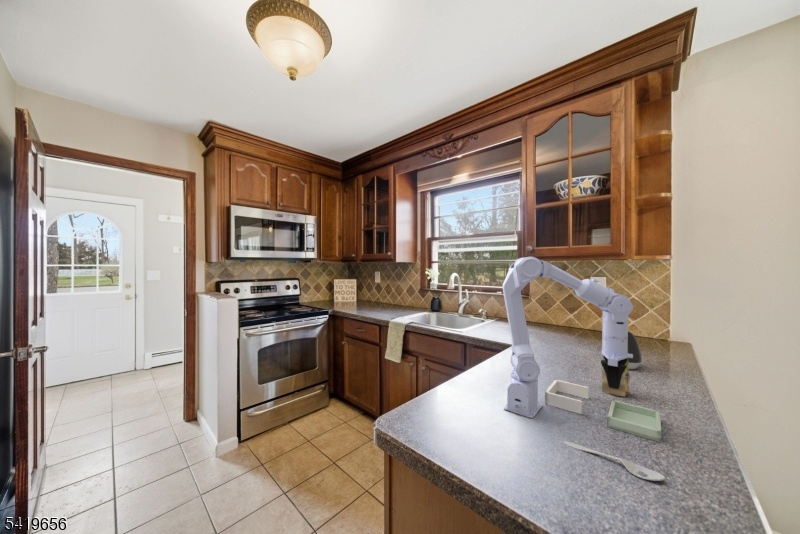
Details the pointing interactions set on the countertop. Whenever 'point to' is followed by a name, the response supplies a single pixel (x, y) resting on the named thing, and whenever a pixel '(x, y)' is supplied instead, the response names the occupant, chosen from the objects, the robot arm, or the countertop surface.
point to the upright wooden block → (619, 391)
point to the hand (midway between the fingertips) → (614, 385)
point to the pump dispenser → (633, 352)
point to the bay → (563, 401)
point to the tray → (635, 420)
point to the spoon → (630, 466)
